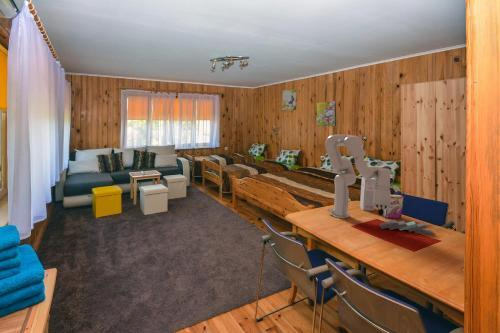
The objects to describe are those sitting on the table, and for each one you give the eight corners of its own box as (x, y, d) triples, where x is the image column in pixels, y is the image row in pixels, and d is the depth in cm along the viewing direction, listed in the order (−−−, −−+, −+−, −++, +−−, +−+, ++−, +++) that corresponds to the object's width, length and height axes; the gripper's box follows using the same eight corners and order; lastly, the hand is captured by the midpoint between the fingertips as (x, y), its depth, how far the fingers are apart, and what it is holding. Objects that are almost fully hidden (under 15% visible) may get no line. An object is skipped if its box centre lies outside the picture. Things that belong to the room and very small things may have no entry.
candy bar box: (385, 218, 206) (387, 196, 203) (383, 215, 211) (384, 194, 208) (401, 218, 205) (403, 196, 202) (398, 216, 209) (400, 194, 207)
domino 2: (389, 227, 183) (405, 223, 180) (387, 224, 188) (403, 220, 185) (390, 230, 183) (406, 226, 180) (388, 227, 188) (404, 223, 185)
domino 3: (398, 227, 182) (415, 223, 179) (397, 225, 187) (413, 221, 183) (399, 230, 182) (416, 226, 179) (398, 228, 187) (415, 224, 183)
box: (362, 210, 224) (365, 179, 220) (359, 207, 232) (361, 176, 228) (374, 210, 223) (376, 179, 219) (370, 207, 231) (372, 177, 227)
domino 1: (380, 226, 184) (396, 222, 181) (379, 223, 189) (395, 219, 186) (381, 229, 185) (397, 225, 181) (380, 226, 189) (396, 222, 186)
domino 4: (408, 229, 180) (425, 225, 176) (406, 226, 185) (423, 222, 181) (409, 232, 180) (426, 228, 176) (407, 229, 185) (424, 225, 181)
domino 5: (415, 230, 179) (433, 232, 176) (413, 227, 184) (431, 229, 180) (414, 233, 179) (433, 235, 176) (413, 230, 184) (431, 232, 181)
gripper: (394, 187, 184) (392, 214, 187) (369, 185, 189) (367, 212, 192) (396, 189, 177) (394, 218, 180) (370, 188, 182) (368, 215, 185)
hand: (380, 215), depth 186 cm, fingers closed
